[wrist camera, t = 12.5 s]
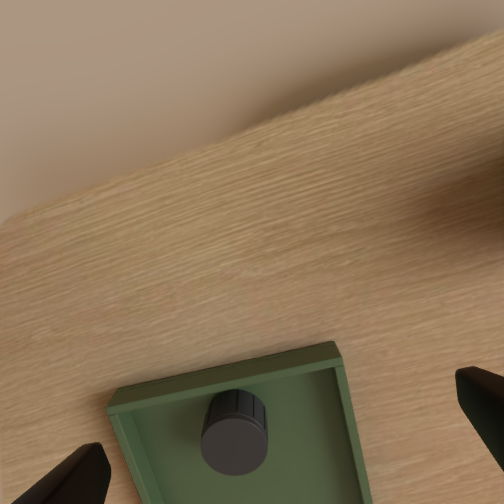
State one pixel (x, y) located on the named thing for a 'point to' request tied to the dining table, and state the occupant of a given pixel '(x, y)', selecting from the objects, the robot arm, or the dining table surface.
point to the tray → (279, 433)
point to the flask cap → (235, 433)
